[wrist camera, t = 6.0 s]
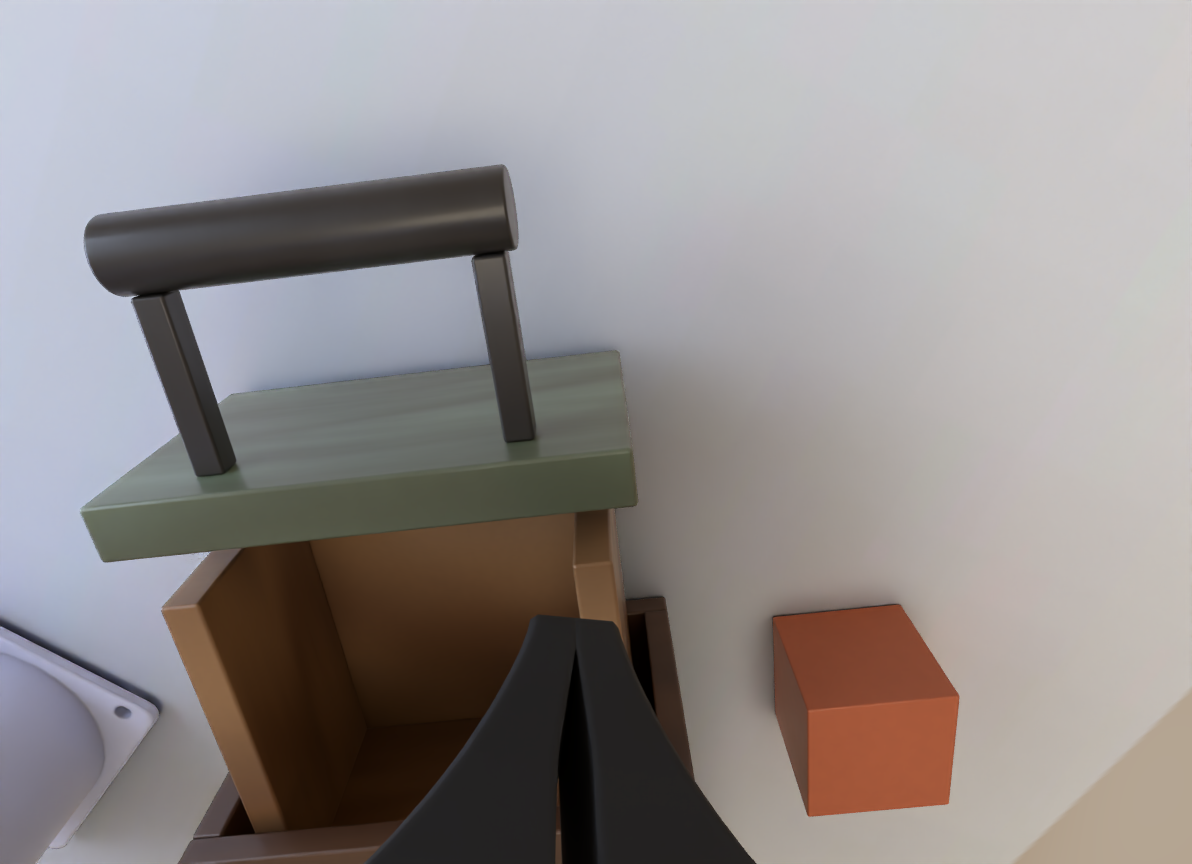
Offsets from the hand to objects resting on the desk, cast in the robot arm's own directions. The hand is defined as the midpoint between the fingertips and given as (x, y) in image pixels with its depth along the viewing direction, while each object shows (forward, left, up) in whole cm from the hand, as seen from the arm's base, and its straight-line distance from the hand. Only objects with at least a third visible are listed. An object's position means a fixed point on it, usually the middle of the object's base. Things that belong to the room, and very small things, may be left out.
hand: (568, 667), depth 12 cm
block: (+11, -1, -9) cm, 15 cm away
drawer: (-2, -3, -9) cm, 9 cm away
